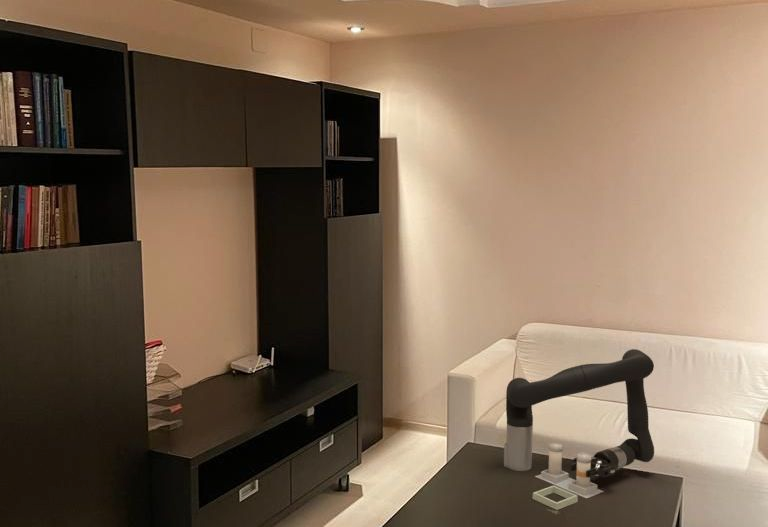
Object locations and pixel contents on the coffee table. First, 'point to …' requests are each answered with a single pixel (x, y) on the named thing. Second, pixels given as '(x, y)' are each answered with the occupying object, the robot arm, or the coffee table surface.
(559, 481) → the fuse board
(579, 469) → the cylinder
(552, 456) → the cylinder
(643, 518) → the coffee table surface
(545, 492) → the tray
